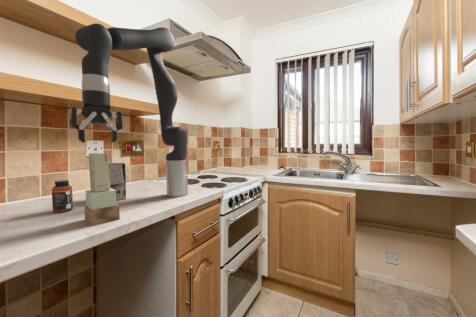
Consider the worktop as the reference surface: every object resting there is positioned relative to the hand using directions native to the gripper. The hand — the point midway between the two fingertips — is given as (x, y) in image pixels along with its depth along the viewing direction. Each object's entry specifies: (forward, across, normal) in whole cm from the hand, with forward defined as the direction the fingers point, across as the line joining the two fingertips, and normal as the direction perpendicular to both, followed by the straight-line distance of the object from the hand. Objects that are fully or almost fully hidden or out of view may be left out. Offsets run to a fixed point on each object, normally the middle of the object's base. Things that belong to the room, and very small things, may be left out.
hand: (98, 142), depth 72 cm
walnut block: (+26, 0, +1) cm, 26 cm away
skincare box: (+16, 0, 0) cm, 16 cm away
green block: (+21, 0, +1) cm, 21 cm away
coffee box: (+26, -14, -27) cm, 40 cm away
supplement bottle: (+26, +7, -21) cm, 34 cm away
